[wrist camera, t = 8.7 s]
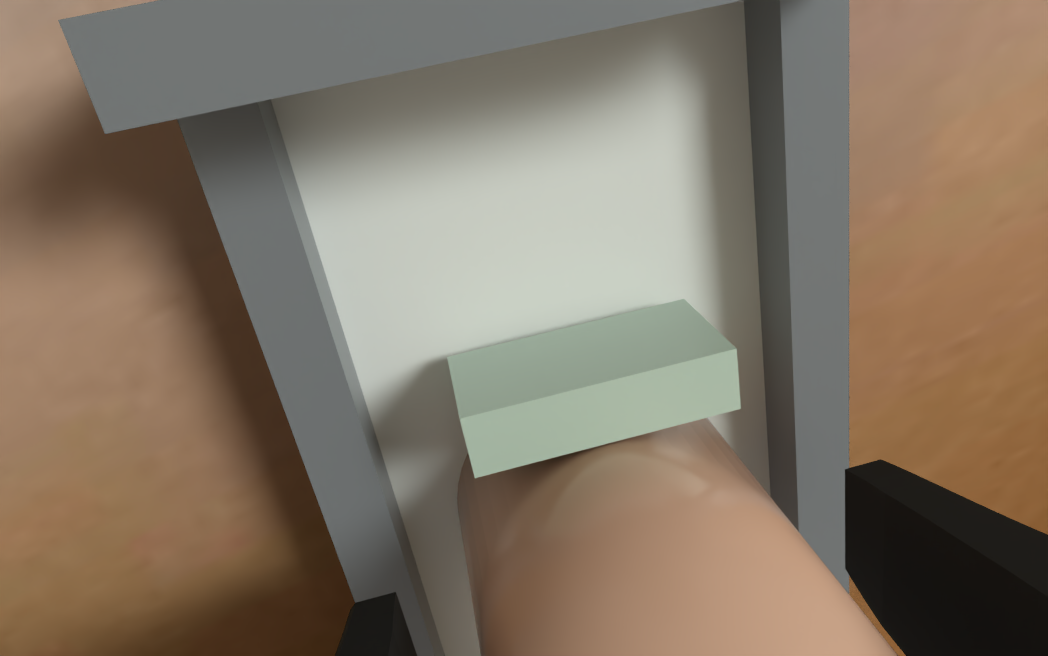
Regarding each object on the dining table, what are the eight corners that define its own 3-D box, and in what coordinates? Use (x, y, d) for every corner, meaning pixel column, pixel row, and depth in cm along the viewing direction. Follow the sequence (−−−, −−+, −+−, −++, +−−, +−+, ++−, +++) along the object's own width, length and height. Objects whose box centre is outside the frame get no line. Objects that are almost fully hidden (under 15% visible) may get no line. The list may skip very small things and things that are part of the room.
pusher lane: (474, 879, 19) (498, 1091, 15) (171, 15, 10) (58, 19, 7) (815, 774, 19) (916, 950, 16) (790, -107, 11) (993, -163, 7)
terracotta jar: (493, 624, 15) (602, 1206, 8) (424, 414, 13) (483, 940, 6) (731, 550, 15) (1049, 1040, 8) (701, 333, 13) (1094, 732, 6)
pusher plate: (460, 410, 12) (475, 477, 11) (447, 356, 12) (460, 419, 10) (689, 352, 13) (741, 408, 11) (684, 298, 12) (736, 348, 11)
